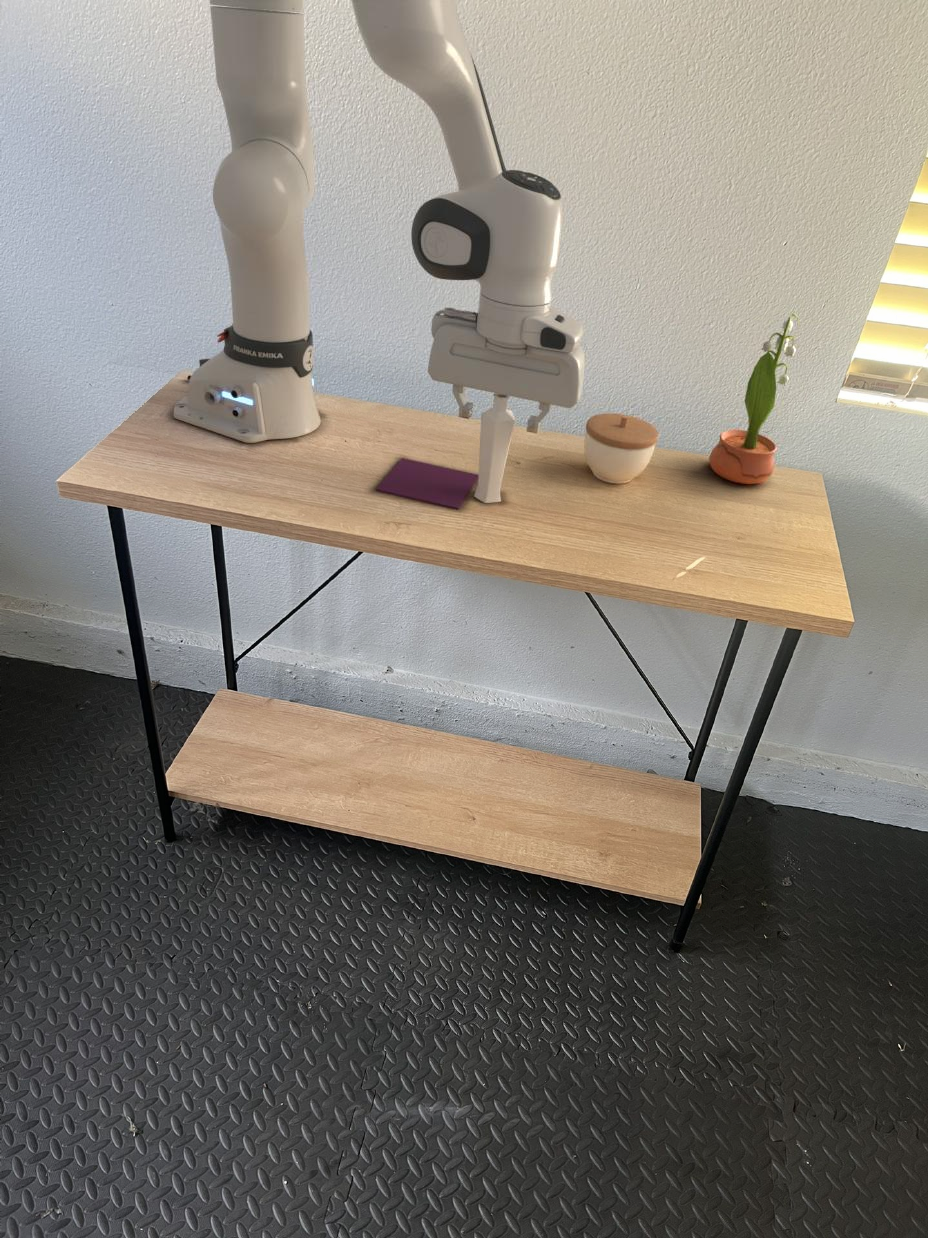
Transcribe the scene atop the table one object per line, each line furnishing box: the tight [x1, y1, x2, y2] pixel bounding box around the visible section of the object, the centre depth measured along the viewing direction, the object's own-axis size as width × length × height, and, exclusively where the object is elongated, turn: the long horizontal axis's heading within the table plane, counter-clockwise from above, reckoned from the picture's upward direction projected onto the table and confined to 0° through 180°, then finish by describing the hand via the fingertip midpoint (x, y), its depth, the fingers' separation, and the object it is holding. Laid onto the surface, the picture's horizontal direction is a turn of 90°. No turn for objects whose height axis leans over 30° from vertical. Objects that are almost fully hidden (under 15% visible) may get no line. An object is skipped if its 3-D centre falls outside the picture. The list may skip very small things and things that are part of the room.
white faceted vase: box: [473, 393, 516, 504], centre depth 116 cm, size 5×4×15 cm
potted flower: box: [708, 313, 800, 485], centre depth 129 cm, size 12×10×25 cm
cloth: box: [375, 457, 479, 510], centre depth 122 cm, size 12×11×1 cm
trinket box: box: [583, 413, 659, 485], centre depth 128 cm, size 11×11×9 cm
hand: (498, 423), depth 114 cm, fingers open, 8 cm apart
